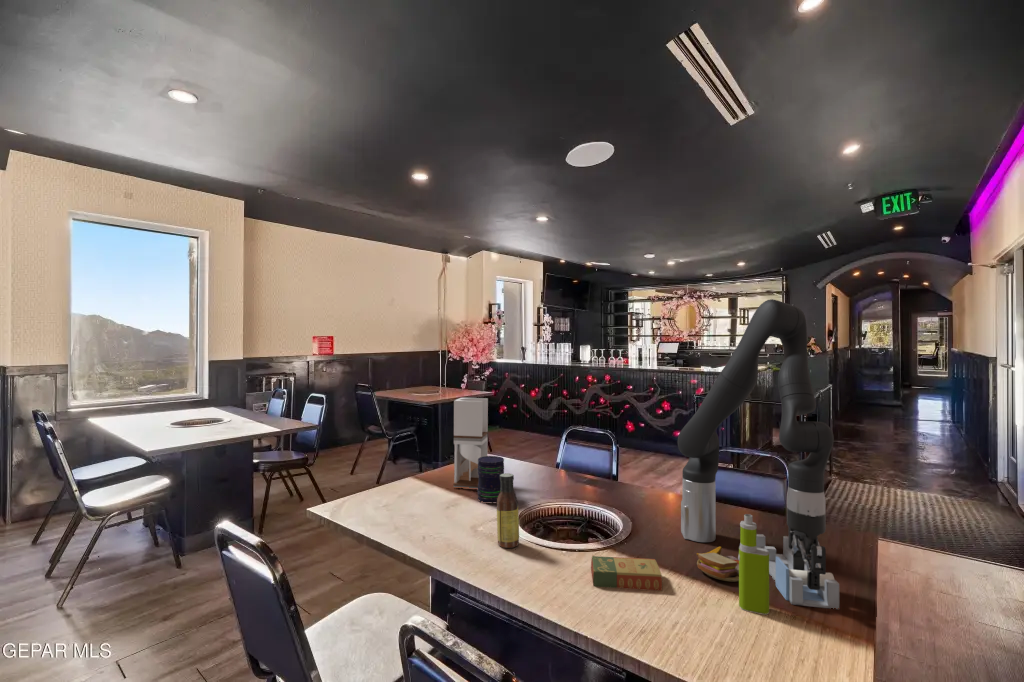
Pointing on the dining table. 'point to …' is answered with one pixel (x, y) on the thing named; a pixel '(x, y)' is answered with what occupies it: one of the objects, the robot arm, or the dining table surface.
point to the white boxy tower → (469, 439)
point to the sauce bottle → (507, 513)
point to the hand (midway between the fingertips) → (805, 580)
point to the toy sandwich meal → (719, 565)
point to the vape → (752, 570)
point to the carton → (626, 573)
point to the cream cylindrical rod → (803, 576)
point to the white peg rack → (797, 579)
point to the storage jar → (489, 477)
